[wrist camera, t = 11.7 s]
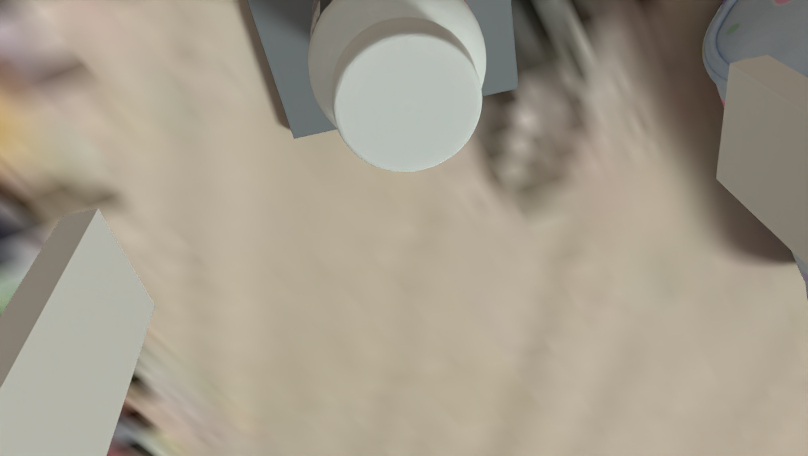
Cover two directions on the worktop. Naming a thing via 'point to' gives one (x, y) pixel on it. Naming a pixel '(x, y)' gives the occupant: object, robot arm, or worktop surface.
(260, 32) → the slate mat
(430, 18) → the pill bottle
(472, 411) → the worktop surface
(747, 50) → the pencil case
